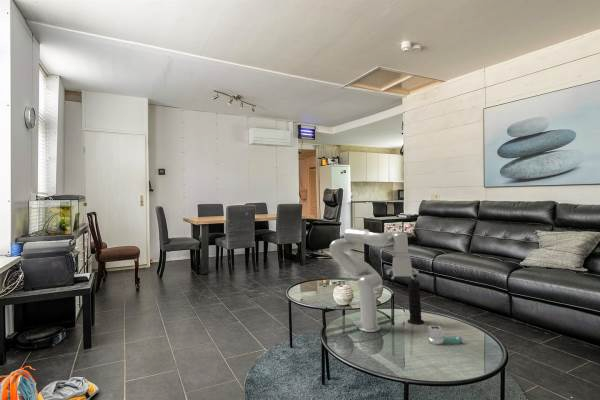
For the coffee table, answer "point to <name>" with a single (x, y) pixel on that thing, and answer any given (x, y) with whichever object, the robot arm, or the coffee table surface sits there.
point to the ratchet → (445, 340)
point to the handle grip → (414, 303)
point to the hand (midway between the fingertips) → (403, 286)
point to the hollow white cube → (435, 332)
